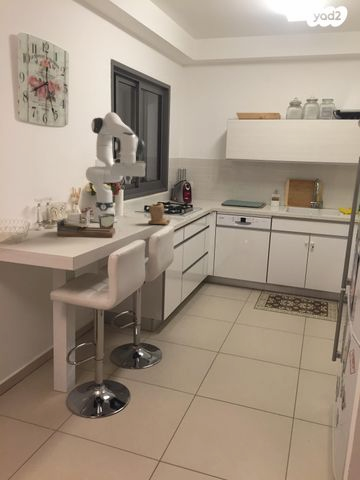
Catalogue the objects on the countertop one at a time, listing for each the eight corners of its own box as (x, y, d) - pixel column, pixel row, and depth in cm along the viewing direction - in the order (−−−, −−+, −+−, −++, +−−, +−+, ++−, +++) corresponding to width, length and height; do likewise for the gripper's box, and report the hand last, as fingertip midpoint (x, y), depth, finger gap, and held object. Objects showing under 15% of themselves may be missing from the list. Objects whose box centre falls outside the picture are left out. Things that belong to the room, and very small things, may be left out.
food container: (108, 227, 272) (108, 212, 270) (114, 228, 269) (114, 213, 267) (93, 229, 263) (93, 214, 261) (100, 231, 259) (100, 215, 257)
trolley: (68, 226, 251) (67, 207, 249) (89, 226, 252) (89, 207, 250) (64, 229, 242) (64, 209, 239) (86, 229, 242) (86, 210, 240)
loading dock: (63, 231, 254) (63, 218, 253) (115, 232, 256) (115, 220, 254) (57, 236, 240) (57, 222, 238) (112, 237, 241) (112, 224, 240)
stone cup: (146, 225, 288) (146, 203, 284) (149, 222, 299) (150, 202, 296) (167, 226, 286) (168, 205, 283) (170, 223, 297) (171, 203, 294)
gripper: (145, 160, 246) (145, 184, 249) (111, 159, 245) (111, 182, 248) (145, 161, 240) (145, 184, 243) (110, 159, 239) (110, 183, 242)
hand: (127, 183), depth 246 cm, fingers closed
